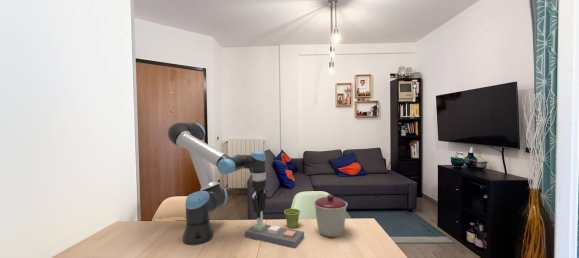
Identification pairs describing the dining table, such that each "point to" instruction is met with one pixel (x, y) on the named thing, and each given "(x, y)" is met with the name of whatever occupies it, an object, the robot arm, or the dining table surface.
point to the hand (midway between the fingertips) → (260, 223)
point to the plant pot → (292, 217)
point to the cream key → (274, 229)
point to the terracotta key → (289, 233)
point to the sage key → (259, 227)
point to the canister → (330, 215)
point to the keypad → (275, 236)
